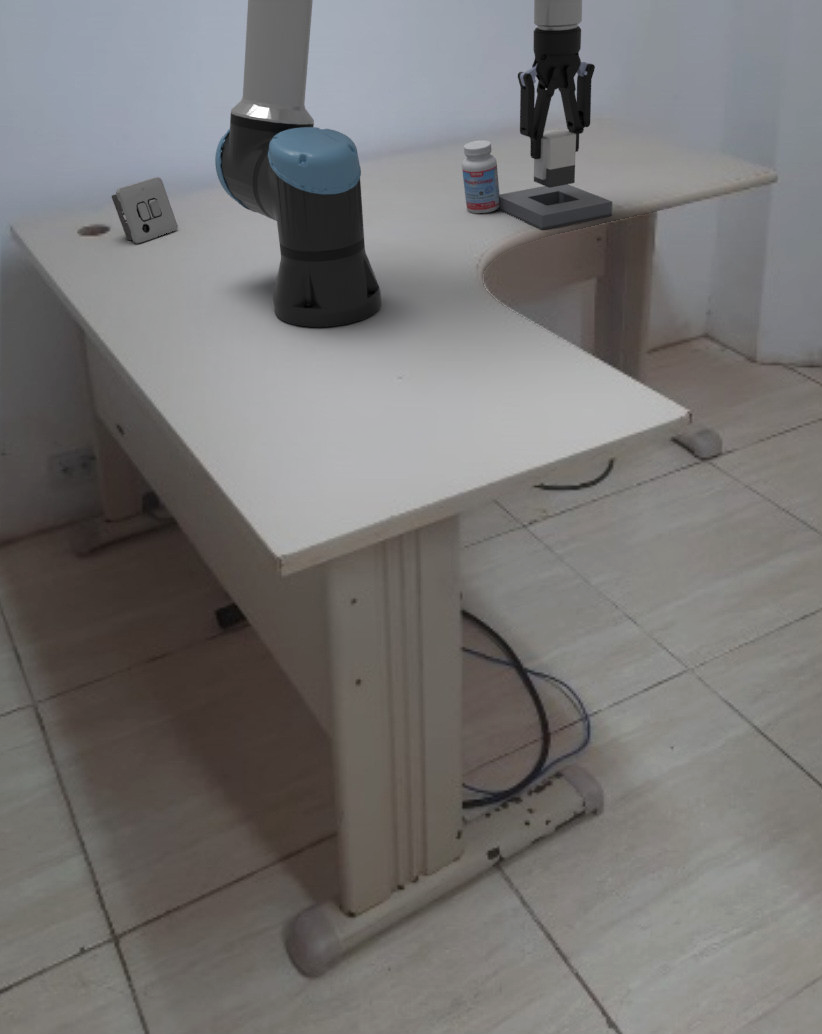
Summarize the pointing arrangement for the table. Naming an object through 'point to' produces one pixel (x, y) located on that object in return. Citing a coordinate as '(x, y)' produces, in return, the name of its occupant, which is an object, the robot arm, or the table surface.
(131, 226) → the electrical switch
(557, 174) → the plug
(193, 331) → the table surface
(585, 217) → the socket plate
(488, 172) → the pill bottle
